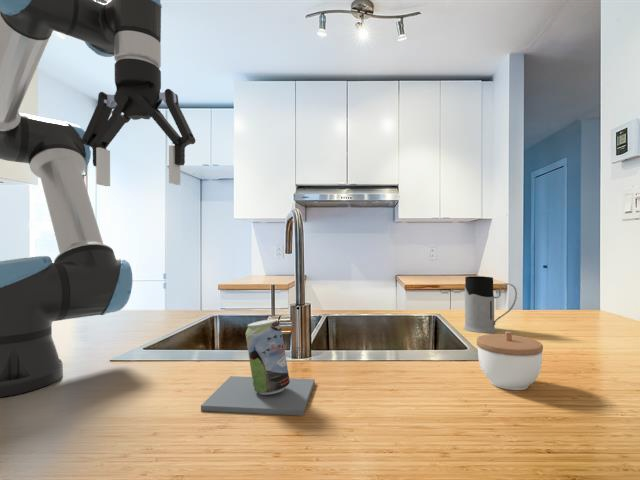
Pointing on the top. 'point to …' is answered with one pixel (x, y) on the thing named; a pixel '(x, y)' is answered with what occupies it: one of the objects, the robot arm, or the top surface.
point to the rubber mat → (259, 397)
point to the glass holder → (481, 304)
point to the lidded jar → (510, 360)
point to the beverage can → (267, 357)
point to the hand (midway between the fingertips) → (138, 184)
